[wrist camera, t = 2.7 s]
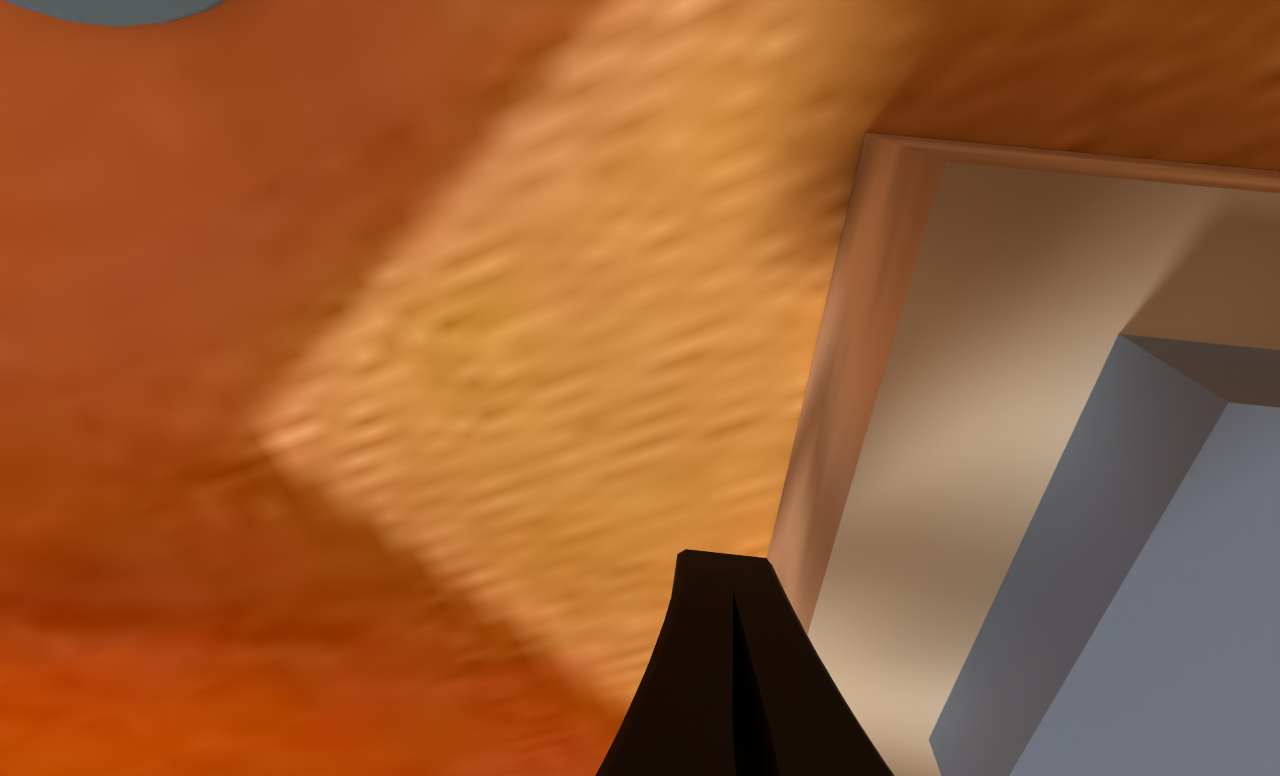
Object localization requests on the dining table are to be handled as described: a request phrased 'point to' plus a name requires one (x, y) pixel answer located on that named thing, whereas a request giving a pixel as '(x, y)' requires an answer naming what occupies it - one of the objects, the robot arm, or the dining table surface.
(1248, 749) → the blue-grey rectangular block
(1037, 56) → the dining table surface
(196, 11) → the cocktail glass
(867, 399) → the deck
